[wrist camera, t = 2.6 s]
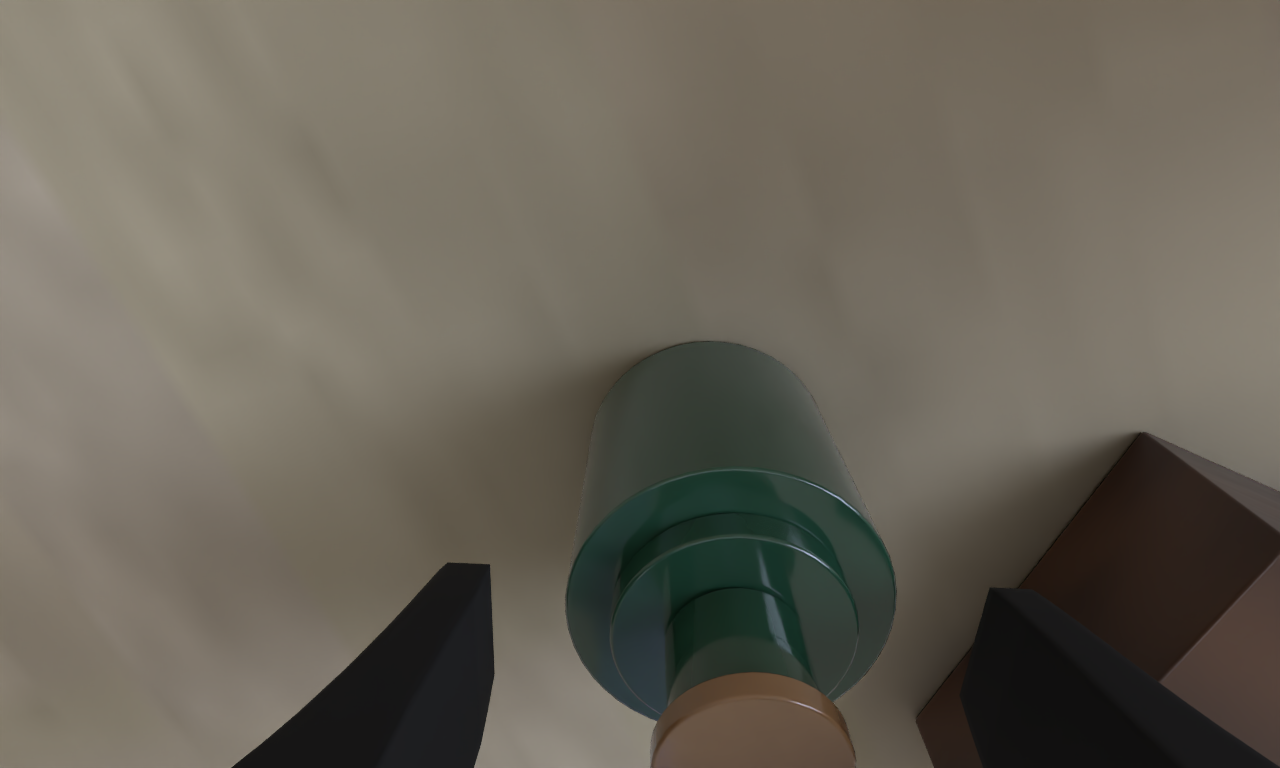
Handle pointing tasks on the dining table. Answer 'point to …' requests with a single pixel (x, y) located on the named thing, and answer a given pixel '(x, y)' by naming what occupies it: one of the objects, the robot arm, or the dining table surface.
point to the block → (1164, 593)
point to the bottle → (726, 563)
